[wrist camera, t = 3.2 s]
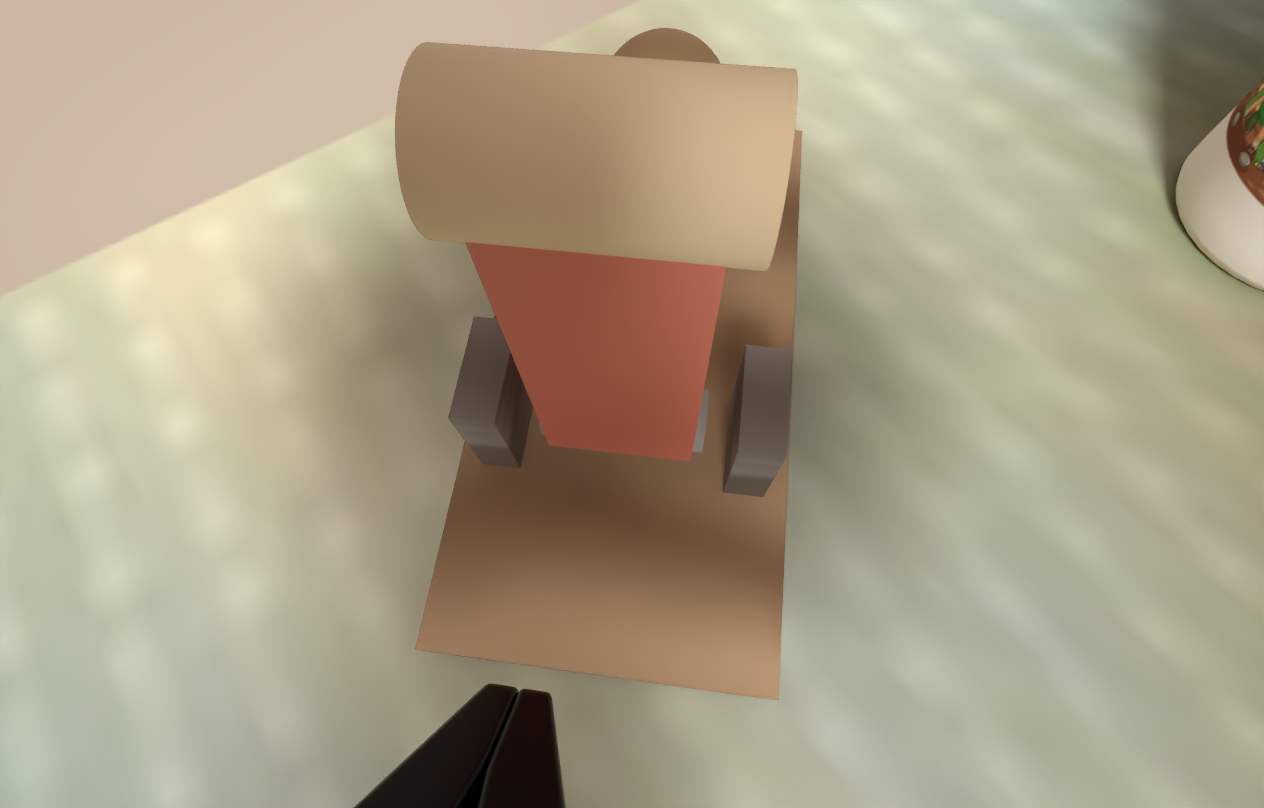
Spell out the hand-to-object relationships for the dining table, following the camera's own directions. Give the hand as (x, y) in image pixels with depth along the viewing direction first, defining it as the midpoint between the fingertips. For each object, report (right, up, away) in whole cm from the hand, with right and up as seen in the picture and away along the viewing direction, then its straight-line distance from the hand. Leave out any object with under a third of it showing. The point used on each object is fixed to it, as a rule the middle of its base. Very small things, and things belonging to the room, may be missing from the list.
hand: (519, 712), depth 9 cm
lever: (+1, +4, +11) cm, 11 cm away
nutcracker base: (+2, +5, +15) cm, 16 cm away
